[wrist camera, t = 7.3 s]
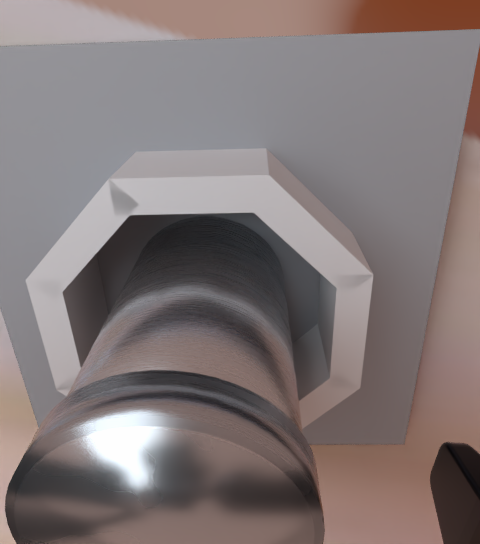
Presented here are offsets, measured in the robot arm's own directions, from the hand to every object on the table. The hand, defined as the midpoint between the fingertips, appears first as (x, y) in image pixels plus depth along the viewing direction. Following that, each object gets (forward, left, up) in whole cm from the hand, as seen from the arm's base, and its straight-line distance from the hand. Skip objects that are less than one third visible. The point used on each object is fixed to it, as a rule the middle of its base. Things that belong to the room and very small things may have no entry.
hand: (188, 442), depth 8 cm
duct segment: (0, 0, -6) cm, 6 cm away
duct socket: (0, 0, -7) cm, 7 cm away
